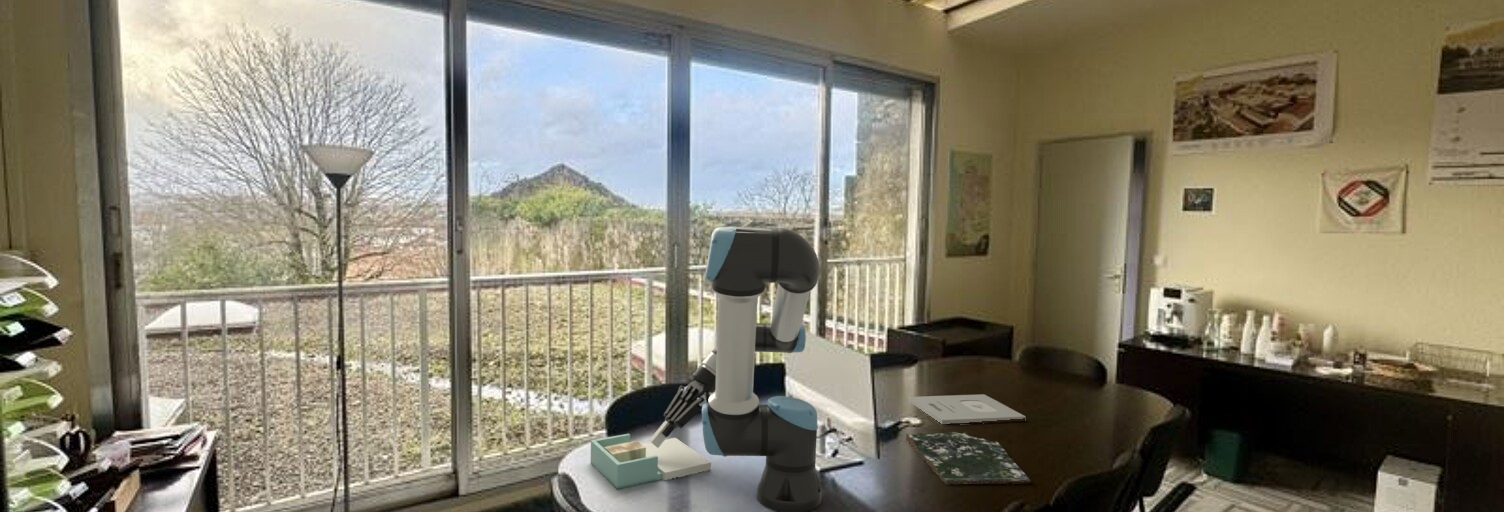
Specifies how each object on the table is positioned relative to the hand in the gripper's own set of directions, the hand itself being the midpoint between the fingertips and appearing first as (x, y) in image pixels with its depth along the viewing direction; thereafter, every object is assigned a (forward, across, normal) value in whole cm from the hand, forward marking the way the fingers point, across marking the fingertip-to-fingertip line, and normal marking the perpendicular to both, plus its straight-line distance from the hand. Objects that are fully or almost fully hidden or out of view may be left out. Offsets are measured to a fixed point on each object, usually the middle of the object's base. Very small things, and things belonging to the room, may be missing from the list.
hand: (653, 444), depth 171 cm
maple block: (+4, +1, +1) cm, 4 cm away
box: (+9, 0, +2) cm, 10 cm away
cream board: (0, 0, -7) cm, 7 cm away
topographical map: (-50, -38, -59) cm, 87 cm away
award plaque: (-74, -9, -83) cm, 112 cm away
